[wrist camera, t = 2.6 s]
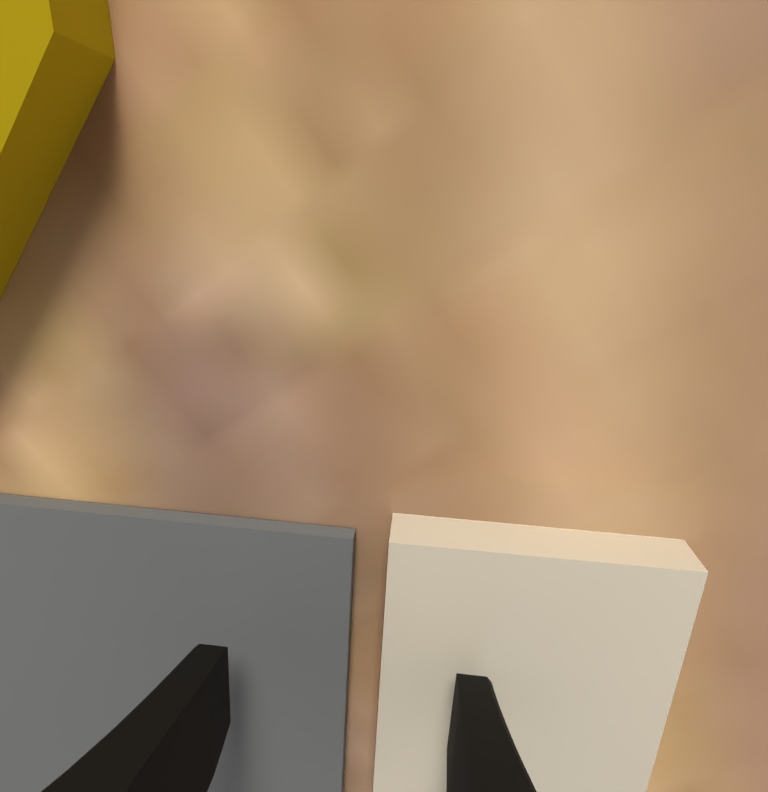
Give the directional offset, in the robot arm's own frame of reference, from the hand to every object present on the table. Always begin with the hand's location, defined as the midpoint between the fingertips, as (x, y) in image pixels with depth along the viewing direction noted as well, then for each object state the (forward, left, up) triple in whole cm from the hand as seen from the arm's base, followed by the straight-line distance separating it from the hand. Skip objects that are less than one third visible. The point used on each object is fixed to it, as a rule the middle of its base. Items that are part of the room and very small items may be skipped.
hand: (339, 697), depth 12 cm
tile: (0, -1, -1) cm, 2 cm away
